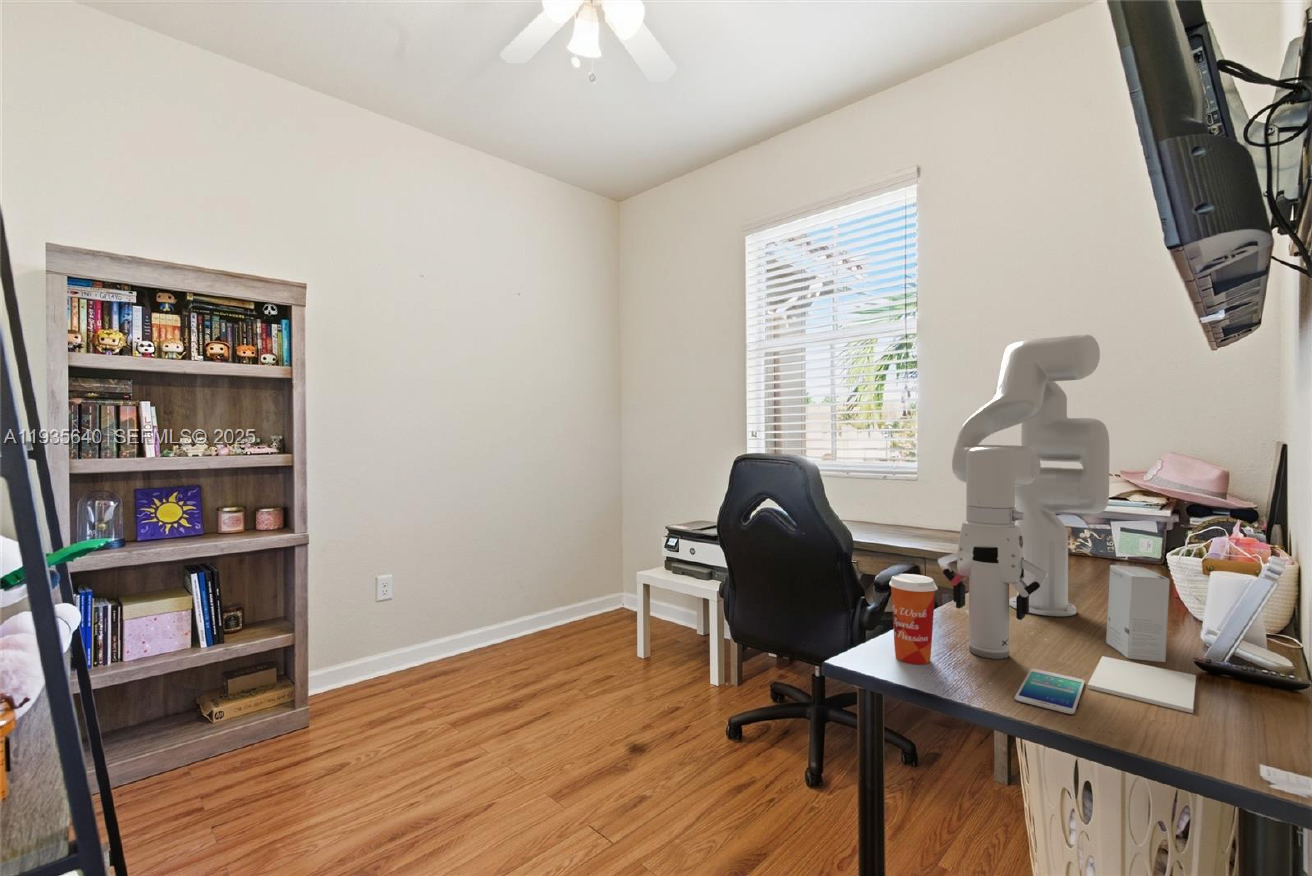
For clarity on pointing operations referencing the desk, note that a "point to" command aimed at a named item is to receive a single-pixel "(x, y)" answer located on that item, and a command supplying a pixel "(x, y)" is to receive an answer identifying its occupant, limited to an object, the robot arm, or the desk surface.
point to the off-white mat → (1145, 683)
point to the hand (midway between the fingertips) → (989, 612)
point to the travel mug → (988, 606)
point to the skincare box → (1138, 613)
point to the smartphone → (1051, 691)
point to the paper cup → (913, 617)
